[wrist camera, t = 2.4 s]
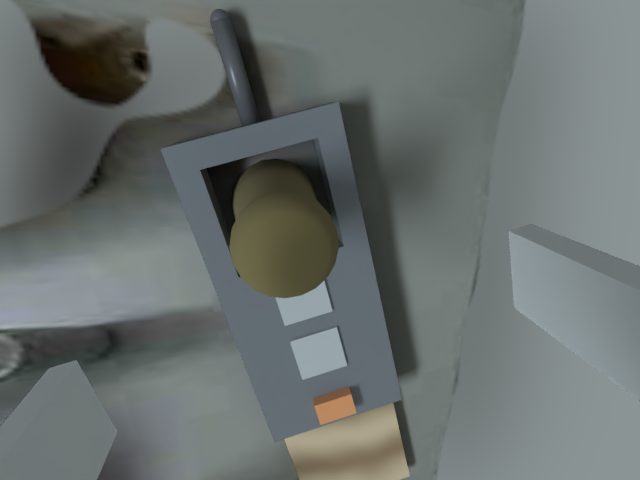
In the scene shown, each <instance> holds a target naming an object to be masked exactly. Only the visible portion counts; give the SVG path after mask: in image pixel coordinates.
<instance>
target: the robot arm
mask: <svg viewBox="0 0 640 480" xmlns="http://www.w3.org/2000/svg"><path fill="white" fill-rule="evenodd" d="M509 244H510V257H511V271H512V284H513V297H514V308H515V309H517V310H518V311H519V312H521V313H522V314H523V315H525V316H526V317H527V318H529V319H530V320H531V321H533V322H534V323H535V324H537V325H538V326H539V327H541V328H542V329H543V330H545V331H546V332H548V333H549V334H550V335H552V336H553V337H554V338H556V339H557V340H558V341H560V342H561V343H562V344H564V345H565V346H567V347H568V348H569V349H570V350H572V351H573V352H574V353H576V354H577V355H578V356H580V357H581V358H583V359H584V360H585V361H587V362H588V363H589V364H591V365H592V366H594V367H595V368H596V369H597V370H599V371H600V372H601V373H603V374H604V375H605V376H607V377H608V378H609V379H611V380H612V381H613V382H615V383H616V384H617V385H619V386H620V387H622V388H623V389H624V390H626V391H627V392H628V393H630V394H631V395H632V396H634V397H635V398H636V399H638V400H639V401H640V266H638V265H635V264H632V263H629V262H627V261H625V260H622V259H619V258H617V257H614V256H612V255H609V254H607V253H604V252H602V251H599V250H597V249H594V248H592V247H589V246H586V245H584V244H581V243H579V242H576V241H574V240H571V239H568V238H566V237H563V236H561V235H558V234H555V233H553V232H550V231H548V230H545V229H543V228H540V227H538V226H535V225H533V224H530V225H527V226H524V227H520V228H517V229H514V230H511V231H509ZM117 433H118V432H117V430H116V428H115V426H114V425H113V423H112V421H111V419H110V418H109V416H108V414H107V413H106V411H105V409H104V407H103V406H102V404H101V402H100V400H99V399H98V397H97V395H96V393H95V392H94V390H93V388H92V386H91V385H90V383H89V381H88V379H87V378H86V376H85V374H84V372H83V371H82V369H81V367H80V365H79V364H78V362H77V360H75V361H72V362H68V363H65V364H62V365H58V366H55V367H52V368H49V369H48V370H47V371H46V372H45V374H44V375H43V376H42V377H41V378H40V380H39V381H38V382H37V383H36V384H35V386H34V387H33V388H32V389H31V390H30V392H29V393H28V394H27V395H26V396H25V398H24V399H23V400H22V401H21V403H20V404H19V405H18V406H17V407H16V409H15V410H14V411H13V412H12V413H11V415H10V416H9V417H8V418H7V419H6V421H5V422H4V423H3V424H2V425H1V427H0V480H97V479H98V476H99V474H100V472H101V469H102V467H103V465H104V463H105V460H106V458H107V456H108V454H109V451H110V449H111V447H112V445H113V442H114V440H115V438H116V436H117Z"/></svg>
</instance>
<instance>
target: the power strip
mask: <svg viewBox="0 0 640 480" xmlns="http://www.w3.org/2000/svg"><path fill="white" fill-rule="evenodd" d="M210 22H211V26H212V29H213V32H214V35H215V39H216V42H217V45H218V48H219V52H220V55H221V58H222V62H223V65H224V68H225V71H226V75H227V78H228V81H229V84H230V88H231V91H232V94H233V97H234V101H235V104H236V107H237V111H238V114H239V117H240V120H241V124H242V126H241V127H237V128H234V129H230V130H226V131H222V132H219V133H215V134H211V135H207V136H203V137H200V138H196V139H192V140H188V141H184V142H181V143H177V144H173V145H169V146H167V147H164V148H161V152H162V154H163V157H164V160H165V162H166V165H167V167H168V170H169V172H170V175H171V178H172V180H173V183H174V185H175V188H176V190H177V193H178V195H179V198H180V201H181V203H182V206H183V208H184V211H185V213H186V216H187V219H188V221H189V224H190V226H191V229H192V231H193V234H194V237H195V239H196V242H197V244H198V247H199V249H200V252H201V255H202V257H203V260H204V262H205V265H206V267H207V270H208V273H209V275H210V278H211V280H212V283H213V285H214V288H215V290H216V293H217V296H218V298H219V301H220V303H221V306H222V308H223V311H224V314H225V316H226V319H227V321H228V324H229V326H230V329H231V332H232V334H233V337H234V339H235V342H236V344H237V347H238V350H239V352H240V355H241V357H242V360H243V362H244V365H245V368H246V370H247V373H248V375H249V378H250V380H251V383H252V385H253V388H254V391H255V393H256V396H257V398H258V401H259V403H260V406H261V409H262V411H263V414H264V416H265V419H266V421H267V424H268V427H269V429H270V432H271V434H272V437H273V439H274V442H277V441H280V440H283V439H286V438H289V437H292V436H295V435H298V434H301V433H304V432H307V431H310V430H313V429H316V428H319V427H322V426H325V425H328V424H331V423H334V422H337V421H340V420H343V419H346V418H349V417H352V416H355V415H358V414H361V413H364V412H367V411H370V410H373V409H376V408H379V407H382V406H385V405H388V404H391V403H394V402H397V401H400V400H402V397H401V392H400V388H399V383H398V378H397V374H396V369H395V364H394V359H393V355H392V350H391V345H390V341H389V336H388V331H387V326H386V322H385V317H384V312H383V308H382V303H381V298H380V293H379V289H378V284H377V279H376V275H375V270H374V265H373V261H372V256H371V251H370V246H369V242H368V237H367V232H366V228H365V223H364V218H363V213H362V209H361V204H360V199H359V195H358V190H357V185H356V180H355V176H354V171H353V166H352V162H351V157H350V152H349V147H348V143H347V138H346V133H345V129H344V124H343V119H342V115H341V110H340V105H339V102H333V103H328V104H325V105H321V106H317V107H313V108H309V109H306V110H302V111H298V112H294V113H290V114H287V115H283V116H279V117H275V118H272V119H268V120H264V121H260V119H259V115H258V112H257V108H256V105H255V101H254V98H253V94H252V91H251V87H250V84H249V80H248V77H247V73H246V70H245V67H244V63H243V60H242V56H241V53H240V49H239V46H238V42H237V39H236V35H235V32H234V28H233V25H232V21H231V18H230V16H229V14H228V13H227V12H226V11H225V10H222V9H216V10H214V11H213V12H212V14H211V16H210ZM312 139H313V141H314V145H315V149H316V153H317V157H318V161H319V165H320V170H321V174H322V178H323V182H324V186H325V190H326V194H327V198H328V202H329V206H330V211H331V215H332V219H333V222H334V224H335V226H336V228H337V233H338V243H339V249H338V254H337V258H336V263H335V265H334V267H333V269H332V270H331V272H330V274H329V276H328V277H327V278H326V279H325V280H324V281H323V282H322V283H321V284H320V285H319V286H318V287H317V288H315V289H313V290H311V291H309V292H307V293H305V294H303V295H301V296H296V297H290V298H277V297H269V296H267V295H264V294H262V293H260V292H257V291H255V290H254V289H252V288H251V287H250V286H249V285H248V284H247V283H245V282H244V281H243V280H242V278H241V276H240V275H239V273H238V272H237V270H236V268H235V267H234V265H233V263H232V258H231V254H230V249H229V245H230V234H229V231H228V229H227V226H226V223H225V220H224V217H223V214H222V212H221V209H220V206H219V203H218V200H217V197H216V195H215V192H214V189H213V186H212V183H211V180H210V178H209V175H208V172H207V169H206V168H209V167H213V166H216V165H220V164H224V163H227V162H231V161H235V160H239V159H242V158H246V157H250V156H253V155H257V154H261V153H264V152H268V151H272V150H275V149H279V148H283V147H287V146H290V145H294V144H298V143H301V142H305V141H309V140H312Z"/></svg>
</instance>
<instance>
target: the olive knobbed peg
mask: <svg viewBox="0 0 640 480" xmlns="http://www.w3.org/2000/svg"><path fill="white" fill-rule="evenodd" d="M231 203H232V208H233V213H234V217H235V220H236V221H235V223H234V225H233V227H232V230H231V237H230V245H229V249H230V254H231V258H232V263H233V265H234V267H235V268H236V270H237V272H238V273H239V275H240V276H241V278H242V280H243V281H244V282H245V283H247V284H248V285H249V286H250V287H251V288H252V289H254V290H255V291H257V292H260V293H262V294H264V295H267V296H269V297H277V298H290V297H296V296H301V295H303V294H305V293H307V292H309V291H311V290H313V289H315V288H317V287H318V286H319V285H320V284H321V283H322V282H323V281H324V280H325V279H326V278H327V277H328V276H329V274H330V272H331V270H332V269H333V267H334V265H335V263H336V258H337V254H338V249H339V243H338V233H337V228H336V226H335V224H334V222H333V220H332V218H331V215H330V214H329V213H328V212H327V211H326V210H325V209H324V208H323V207H322V205H321V204H320V203H319V202H318V201H317V200H316V193H315V189H314V186H313V184H312V182H311V180H310V178H309V177H308V176H307V175H306V173H305V172H304V171H303V170H302V169H301V168H299V167H298V166H296V165H294V164H292V163H290V162H288V161H283V160H278V159H271V160H264V161H260V162H258V163H256V164H254V165H252V166H250V167H248V168H247V169H246V170H245V171H244V172H243V173H242V174H241V175H240V176H239V178H238V180H237V182H236V184H235V186H234V188H233V192H232V200H231Z"/></svg>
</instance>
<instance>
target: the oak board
mask: <svg viewBox="0 0 640 480" xmlns="http://www.w3.org/2000/svg"><path fill="white" fill-rule="evenodd" d="M284 440H285V442H286V445H287V448H288V450H289V453H290V456H291V458H292V461H293V464H294V466H295V469H296V472H297V474H298V477H299V480H400V479H403V478H406V477H409V476H410V475H409V471H408V466H407V462H406V457H405V453H404V448H403V444H402V439H401V435H400V431H399V426H398V422H397V417H396V413H395V408H394V404H393V403H391V404H388V405H385V406H382V407H379V408H376V409H373V410H370V411H367V412H364V413H361V414H358V415H355V416H352V417H349V418H346V419H343V420H340V421H337V422H334V423H331V424H328V425H325V426H322V427H319V428H316V429H313V430H310V431H307V432H304V433H301V434H298V435H295V436H292V437H289V438H286V439H284Z"/></svg>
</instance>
